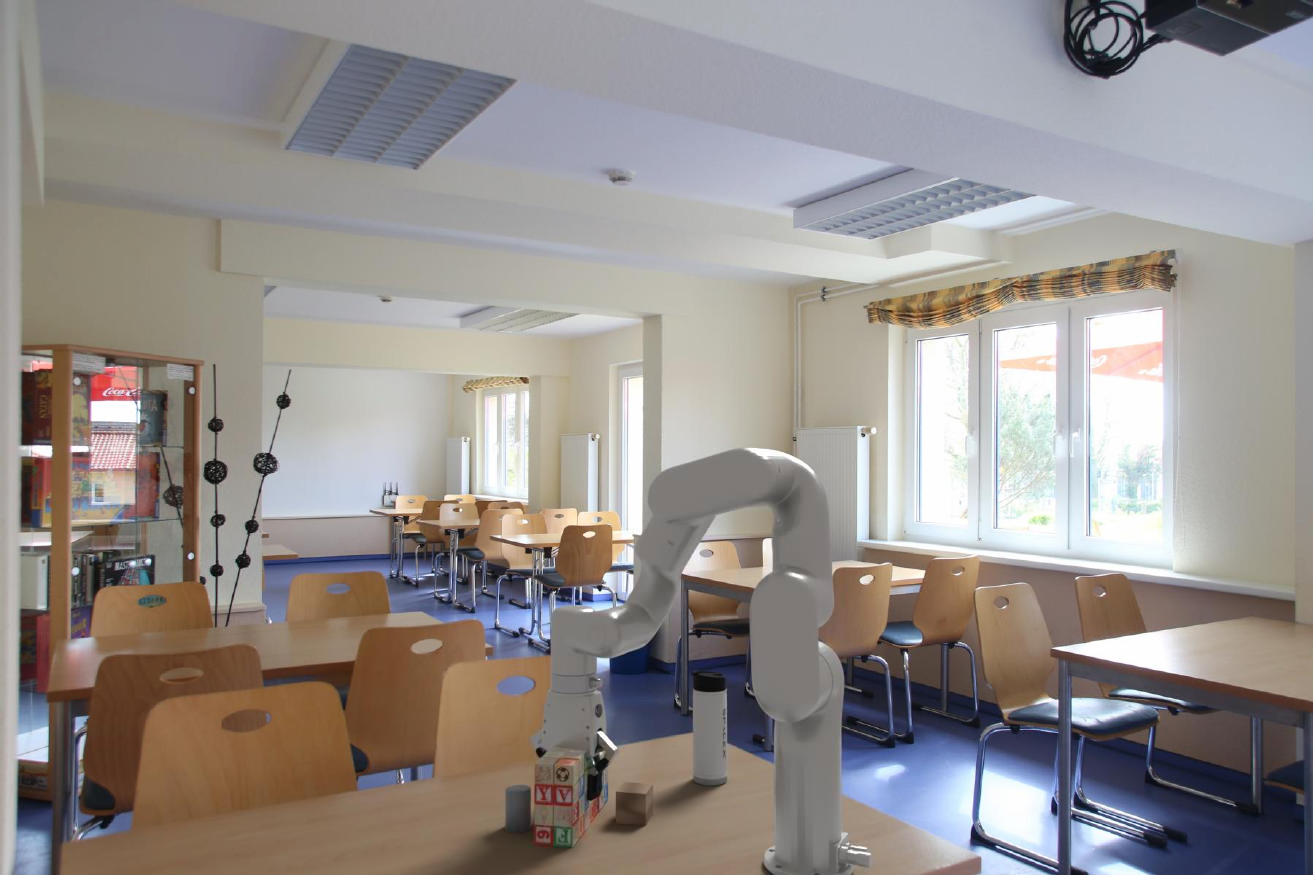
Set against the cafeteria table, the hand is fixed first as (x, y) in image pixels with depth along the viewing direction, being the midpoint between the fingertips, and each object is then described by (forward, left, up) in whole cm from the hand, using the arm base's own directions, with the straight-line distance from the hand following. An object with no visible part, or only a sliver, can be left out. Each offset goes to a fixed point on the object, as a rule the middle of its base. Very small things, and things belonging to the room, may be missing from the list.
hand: (572, 793), depth 144 cm
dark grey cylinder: (+6, +6, -5) cm, 10 cm away
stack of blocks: (0, -1, -5) cm, 5 cm away
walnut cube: (-8, -6, -5) cm, 11 cm away
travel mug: (-11, -29, -5) cm, 31 cm away
